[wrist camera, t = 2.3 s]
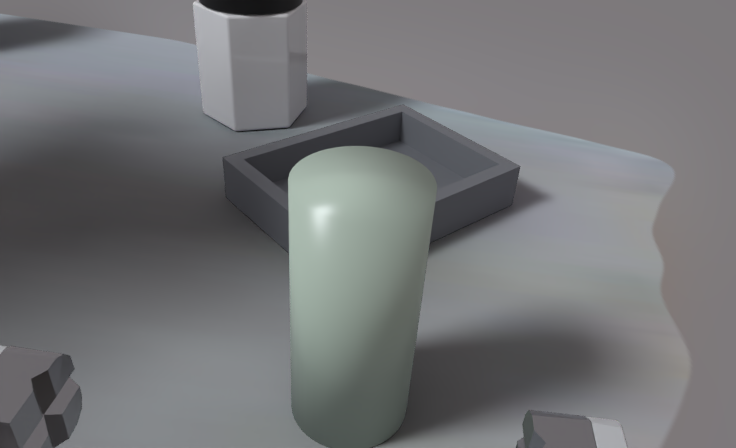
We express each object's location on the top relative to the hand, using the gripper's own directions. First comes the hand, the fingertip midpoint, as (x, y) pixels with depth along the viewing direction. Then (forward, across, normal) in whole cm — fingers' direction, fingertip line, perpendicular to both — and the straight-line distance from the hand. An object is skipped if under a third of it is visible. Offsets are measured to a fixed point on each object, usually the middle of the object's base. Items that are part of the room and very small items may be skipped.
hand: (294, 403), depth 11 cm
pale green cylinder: (+13, 0, -14) cm, 19 cm away
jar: (+43, -12, -14) cm, 47 cm away
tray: (+30, -1, -14) cm, 34 cm away
